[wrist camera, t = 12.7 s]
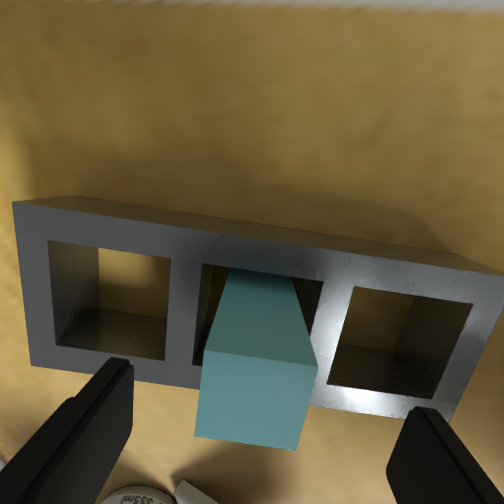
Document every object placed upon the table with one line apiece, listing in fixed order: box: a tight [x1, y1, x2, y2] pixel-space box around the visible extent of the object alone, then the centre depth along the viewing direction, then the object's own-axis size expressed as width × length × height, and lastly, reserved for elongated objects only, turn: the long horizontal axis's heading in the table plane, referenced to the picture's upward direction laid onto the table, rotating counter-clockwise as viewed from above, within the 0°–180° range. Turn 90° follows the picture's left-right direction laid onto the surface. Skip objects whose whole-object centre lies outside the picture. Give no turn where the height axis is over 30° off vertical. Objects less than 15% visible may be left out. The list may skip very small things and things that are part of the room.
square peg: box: [194, 268, 319, 451], centre depth 13 cm, size 4×4×9 cm
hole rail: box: [12, 196, 504, 423], centre depth 15 cm, size 9×24×4 cm, turn 81°
